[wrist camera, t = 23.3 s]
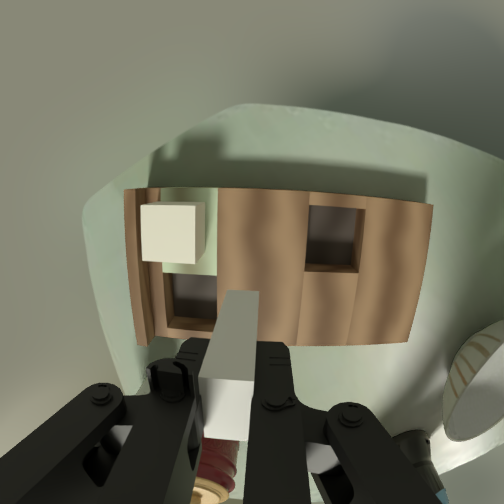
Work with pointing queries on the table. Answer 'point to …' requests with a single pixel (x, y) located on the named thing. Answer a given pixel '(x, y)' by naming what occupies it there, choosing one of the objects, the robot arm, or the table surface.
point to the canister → (215, 471)
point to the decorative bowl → (475, 385)
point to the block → (173, 231)
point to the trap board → (286, 265)
